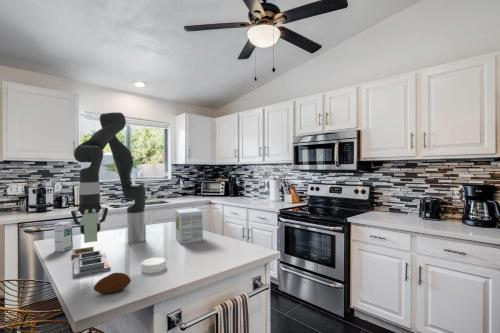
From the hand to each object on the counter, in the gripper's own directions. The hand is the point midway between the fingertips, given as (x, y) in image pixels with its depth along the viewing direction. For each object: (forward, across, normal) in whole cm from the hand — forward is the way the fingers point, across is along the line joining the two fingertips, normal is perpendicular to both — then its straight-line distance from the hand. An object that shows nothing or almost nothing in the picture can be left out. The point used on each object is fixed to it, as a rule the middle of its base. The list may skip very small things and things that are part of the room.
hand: (90, 232), depth 114 cm
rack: (+16, 0, -6) cm, 17 cm away
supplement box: (+16, -50, -19) cm, 56 cm away
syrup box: (+16, +11, -42) cm, 46 cm away
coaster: (+16, -22, +14) cm, 31 cm away
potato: (+16, -5, +27) cm, 32 cm away
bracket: (+16, +2, -26) cm, 30 cm away
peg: (+3, 0, 0) cm, 3 cm away
